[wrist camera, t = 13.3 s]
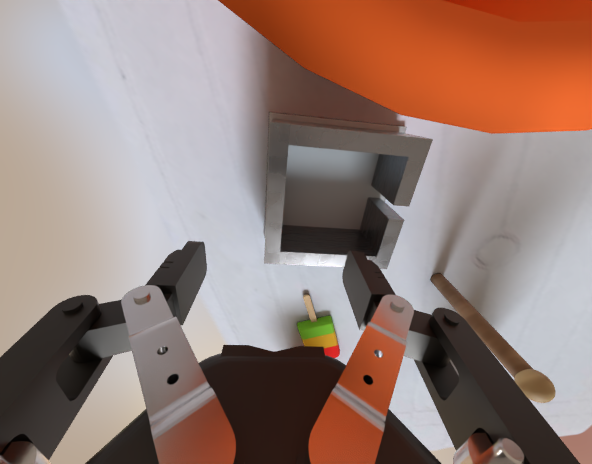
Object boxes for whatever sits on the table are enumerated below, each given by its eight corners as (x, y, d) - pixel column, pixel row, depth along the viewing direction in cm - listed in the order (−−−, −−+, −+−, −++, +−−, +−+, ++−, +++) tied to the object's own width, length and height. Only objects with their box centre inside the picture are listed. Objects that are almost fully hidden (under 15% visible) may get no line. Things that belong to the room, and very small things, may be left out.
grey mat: (404, 126, 24) (406, 126, 24) (371, 242, 31) (372, 243, 30) (269, 112, 23) (269, 112, 22) (264, 236, 29) (264, 237, 29)
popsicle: (309, 354, 42) (310, 364, 40) (287, 295, 35) (288, 304, 33) (339, 347, 42) (341, 357, 40) (323, 286, 34) (325, 296, 33)
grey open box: (399, 132, 24) (432, 139, 19) (368, 240, 30) (386, 269, 25) (272, 118, 23) (270, 122, 17) (267, 234, 29) (264, 263, 23)
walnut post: (448, 271, 34) (571, 392, 20) (441, 285, 35) (552, 408, 21) (431, 270, 34) (544, 392, 19) (425, 284, 35) (526, 409, 20)
